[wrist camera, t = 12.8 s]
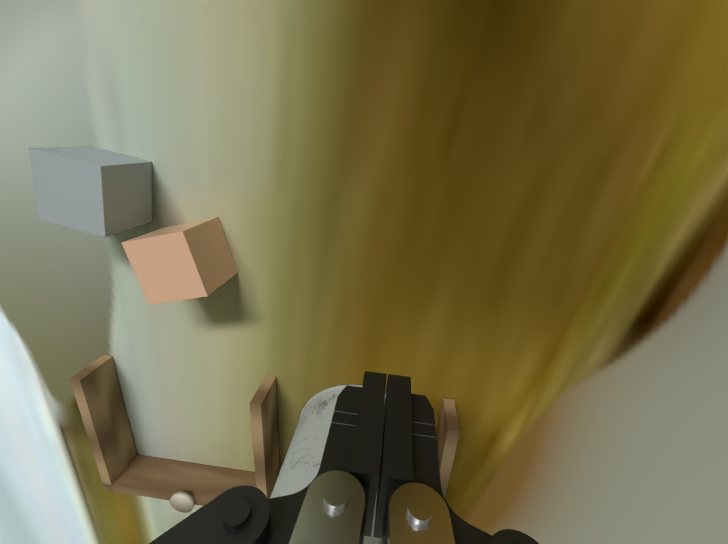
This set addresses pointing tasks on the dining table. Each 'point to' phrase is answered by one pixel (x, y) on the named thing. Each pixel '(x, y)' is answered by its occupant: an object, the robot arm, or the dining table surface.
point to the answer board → (193, 480)
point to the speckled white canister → (311, 447)
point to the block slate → (92, 189)
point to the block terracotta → (181, 260)
